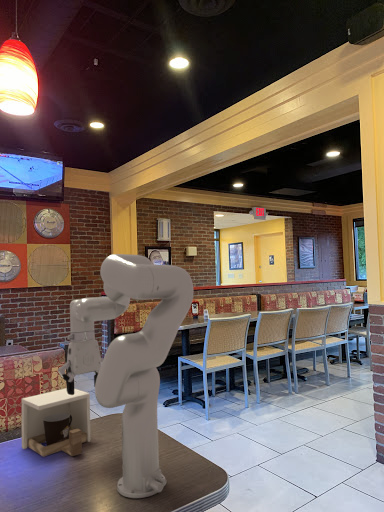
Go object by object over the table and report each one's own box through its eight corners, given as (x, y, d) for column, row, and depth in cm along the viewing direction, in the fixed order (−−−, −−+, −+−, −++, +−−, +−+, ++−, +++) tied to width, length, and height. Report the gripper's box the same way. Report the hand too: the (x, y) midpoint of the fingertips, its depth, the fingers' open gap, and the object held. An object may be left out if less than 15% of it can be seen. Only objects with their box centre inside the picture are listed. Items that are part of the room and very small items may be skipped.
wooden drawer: (98, 447, 123) (98, 424, 123) (54, 464, 112) (54, 439, 113) (69, 433, 136) (69, 413, 137) (28, 446, 126) (28, 424, 126)
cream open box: (90, 441, 129) (89, 393, 131) (39, 459, 116) (38, 406, 118) (71, 431, 139) (70, 387, 140) (21, 447, 126) (21, 398, 127)
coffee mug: (50, 455, 119) (50, 423, 120) (38, 448, 125) (38, 417, 125) (83, 443, 127) (82, 413, 128) (70, 437, 133) (70, 409, 134)
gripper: (63, 340, 113) (65, 398, 111) (111, 334, 125) (113, 386, 123) (52, 340, 118) (53, 395, 116) (99, 334, 131) (101, 384, 128)
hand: (84, 390), depth 120 cm, fingers open, 9 cm apart
